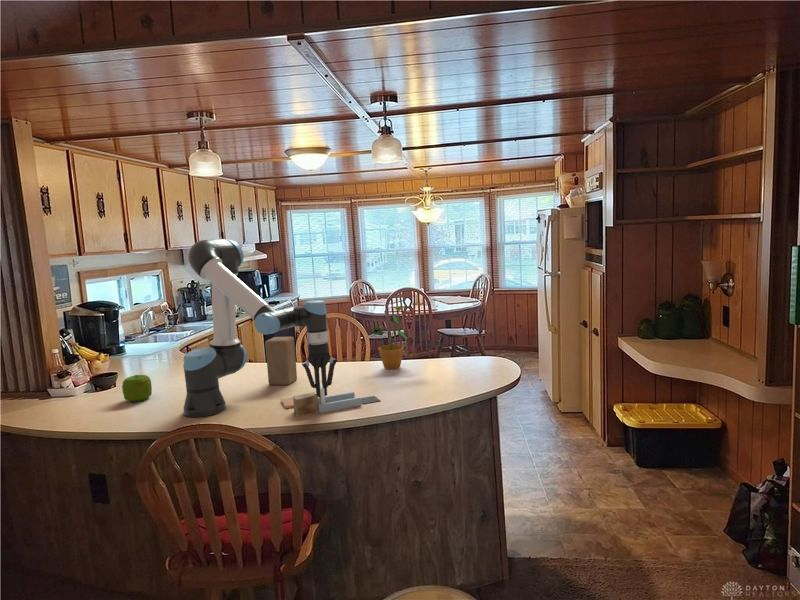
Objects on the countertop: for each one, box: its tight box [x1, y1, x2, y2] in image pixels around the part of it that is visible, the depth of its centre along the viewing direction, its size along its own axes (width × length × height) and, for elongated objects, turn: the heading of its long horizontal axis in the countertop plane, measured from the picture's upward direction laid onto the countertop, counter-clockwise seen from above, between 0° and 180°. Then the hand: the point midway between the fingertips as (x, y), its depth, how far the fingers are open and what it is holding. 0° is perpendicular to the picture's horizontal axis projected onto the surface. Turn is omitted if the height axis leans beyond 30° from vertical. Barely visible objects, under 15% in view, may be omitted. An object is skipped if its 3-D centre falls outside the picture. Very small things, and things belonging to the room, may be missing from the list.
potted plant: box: [371, 305, 408, 370], centre depth 250 cm, size 18×19×30 cm
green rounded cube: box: [121, 374, 153, 403], centre depth 221 cm, size 11×11×11 cm
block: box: [292, 391, 319, 416], centre depth 194 cm, size 8×5×6 cm, turn 114°
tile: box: [280, 396, 294, 409], centre depth 206 cm, size 10×10×1 cm
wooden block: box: [264, 336, 298, 386], centre depth 236 cm, size 10×10×20 cm
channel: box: [318, 391, 362, 414], centre depth 199 cm, size 16×9×3 cm, turn 113°
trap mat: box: [361, 395, 381, 405], centre depth 204 cm, size 7×7×1 cm
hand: (322, 404), depth 197 cm, fingers closed
